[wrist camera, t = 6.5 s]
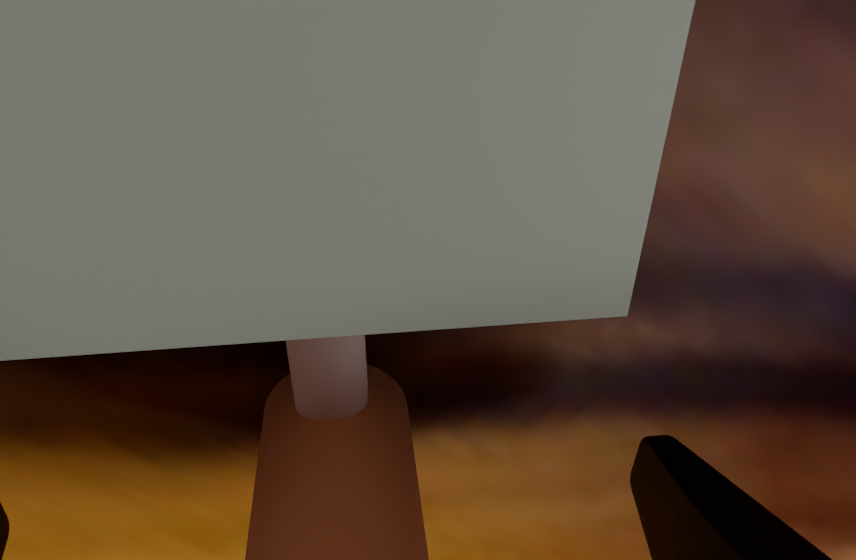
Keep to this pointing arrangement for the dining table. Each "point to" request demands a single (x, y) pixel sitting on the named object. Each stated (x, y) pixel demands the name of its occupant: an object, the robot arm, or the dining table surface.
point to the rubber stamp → (324, 203)
